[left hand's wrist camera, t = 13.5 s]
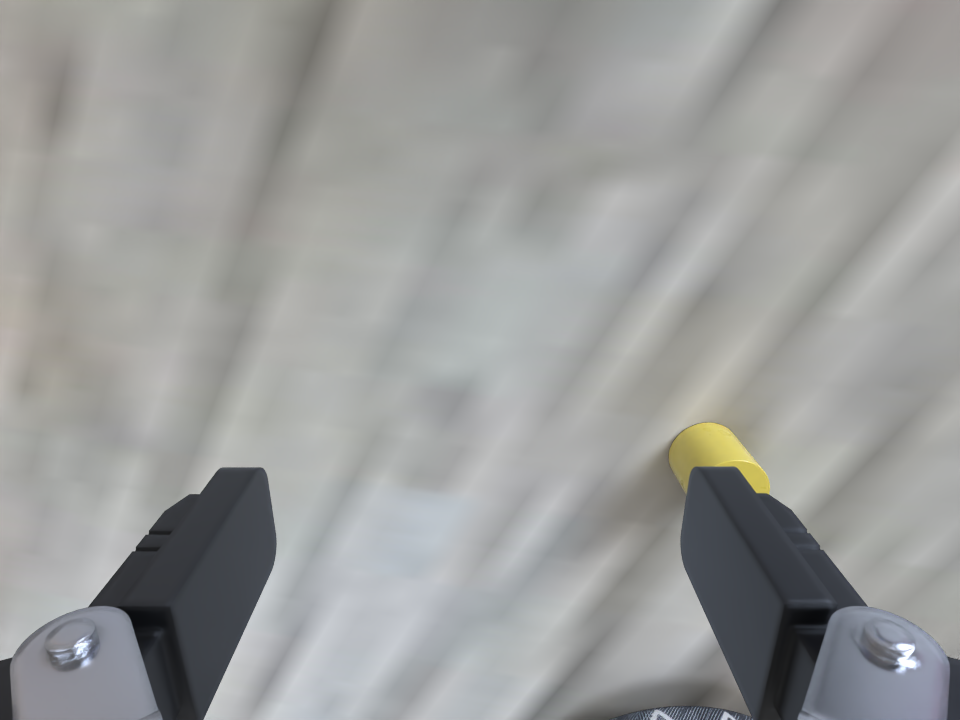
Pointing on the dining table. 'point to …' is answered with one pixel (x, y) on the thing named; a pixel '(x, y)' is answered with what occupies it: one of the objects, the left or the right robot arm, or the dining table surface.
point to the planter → (684, 714)
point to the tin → (713, 455)
